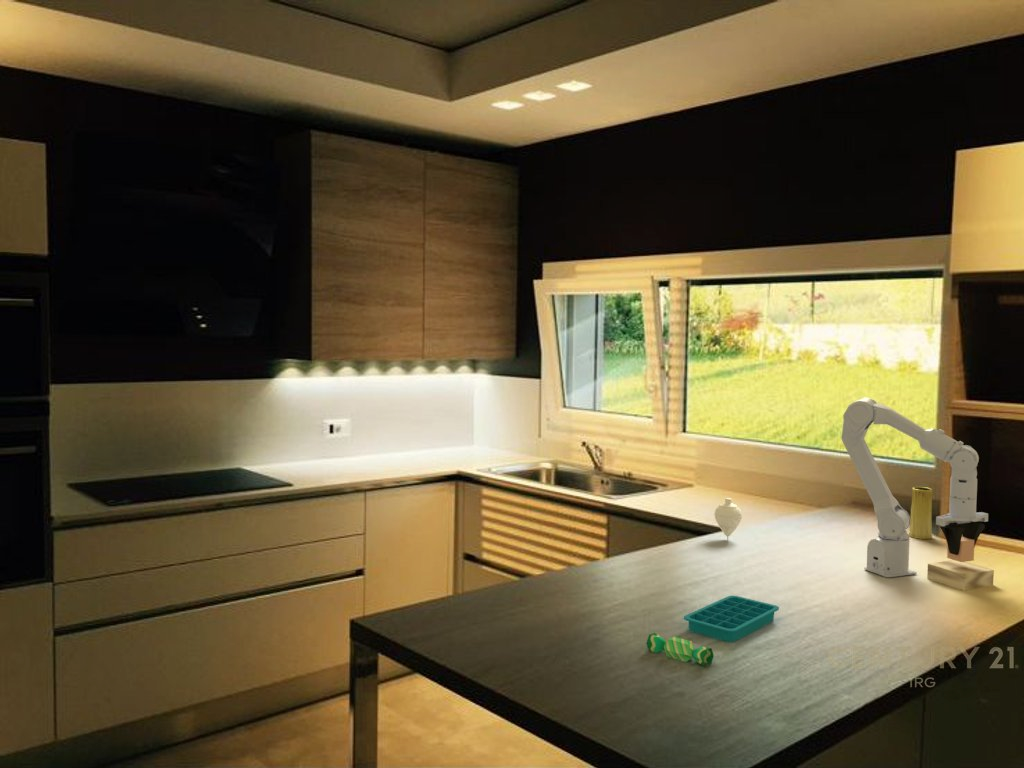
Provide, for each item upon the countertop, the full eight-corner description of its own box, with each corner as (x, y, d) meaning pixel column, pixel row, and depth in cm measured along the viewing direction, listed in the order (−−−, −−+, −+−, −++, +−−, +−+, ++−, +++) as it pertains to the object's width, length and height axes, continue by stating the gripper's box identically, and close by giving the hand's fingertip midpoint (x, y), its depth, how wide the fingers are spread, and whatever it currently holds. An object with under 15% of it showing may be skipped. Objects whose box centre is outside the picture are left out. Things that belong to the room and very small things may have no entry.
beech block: (963, 591, 199) (964, 574, 199) (927, 579, 209) (927, 563, 208) (993, 586, 203) (993, 570, 203) (956, 575, 213) (956, 559, 212)
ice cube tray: (680, 631, 173) (681, 617, 173) (731, 608, 188) (731, 594, 187) (732, 646, 165) (732, 631, 165) (781, 620, 180) (781, 606, 179)
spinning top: (708, 538, 248) (709, 497, 247) (729, 535, 251) (730, 494, 250) (725, 544, 241) (726, 502, 240) (747, 541, 244) (748, 499, 243)
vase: (927, 534, 252) (929, 486, 251) (935, 539, 246) (937, 490, 245) (905, 533, 253) (907, 486, 252) (913, 539, 247) (915, 490, 246)
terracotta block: (961, 562, 203) (961, 541, 203) (947, 557, 207) (947, 537, 207) (973, 560, 205) (974, 539, 204) (959, 556, 208) (960, 536, 208)
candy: (644, 649, 161) (651, 628, 162) (652, 654, 163) (658, 634, 165) (701, 666, 153) (708, 644, 155) (709, 671, 155) (715, 650, 157)
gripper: (954, 502, 198) (952, 560, 199) (1000, 498, 203) (998, 554, 204) (929, 496, 205) (927, 552, 206) (974, 492, 210) (972, 547, 211)
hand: (961, 553), depth 206 cm, fingers closed on terracotta block, 4 cm apart
